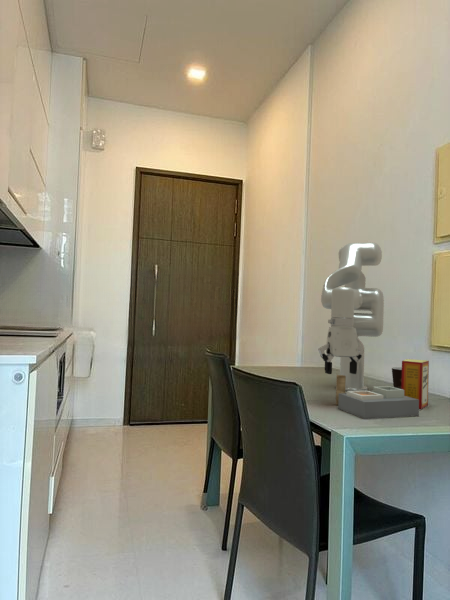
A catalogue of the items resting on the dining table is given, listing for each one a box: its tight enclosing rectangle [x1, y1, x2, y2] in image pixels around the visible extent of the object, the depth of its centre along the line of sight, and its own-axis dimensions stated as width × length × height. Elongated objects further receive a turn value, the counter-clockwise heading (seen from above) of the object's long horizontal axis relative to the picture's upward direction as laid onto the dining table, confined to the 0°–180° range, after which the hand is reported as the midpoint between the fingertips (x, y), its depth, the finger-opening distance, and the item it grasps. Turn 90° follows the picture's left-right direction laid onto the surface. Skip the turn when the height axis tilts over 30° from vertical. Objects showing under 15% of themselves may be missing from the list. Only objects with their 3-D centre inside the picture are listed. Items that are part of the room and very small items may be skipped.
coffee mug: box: [391, 366, 402, 389], centre depth 177 cm, size 12×9×10 cm
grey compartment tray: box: [337, 385, 420, 420], centre depth 143 cm, size 14×20×8 cm
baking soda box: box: [401, 358, 430, 410], centre depth 155 cm, size 10×6×16 cm
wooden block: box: [335, 374, 346, 406], centre depth 153 cm, size 3×3×10 cm
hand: (340, 373), depth 152 cm, fingers open, 9 cm apart
